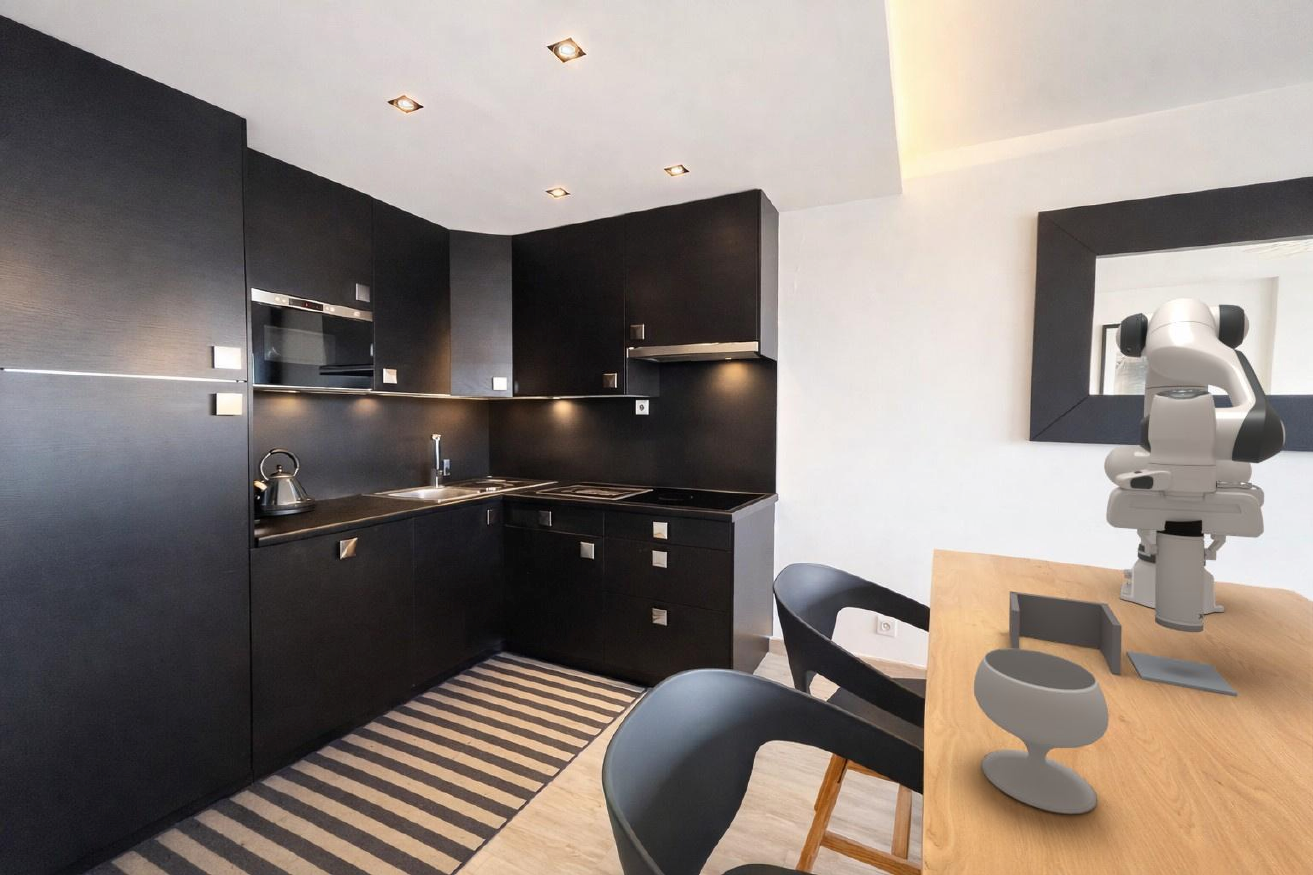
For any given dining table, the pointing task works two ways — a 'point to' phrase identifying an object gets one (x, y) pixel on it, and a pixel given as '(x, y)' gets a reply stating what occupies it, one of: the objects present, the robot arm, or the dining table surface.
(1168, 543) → the travel mug
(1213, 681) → the mat
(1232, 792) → the dining table surface
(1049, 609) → the grey u-shaped channel
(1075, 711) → the chalice
